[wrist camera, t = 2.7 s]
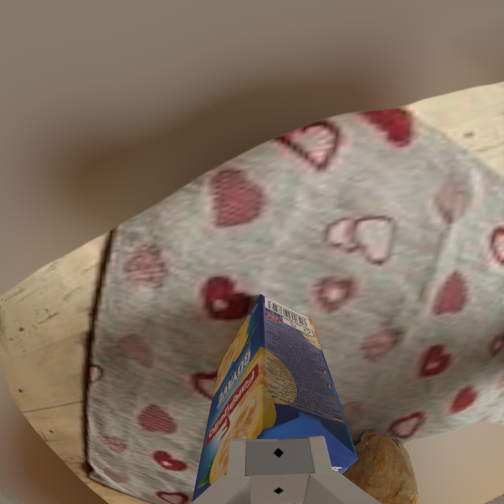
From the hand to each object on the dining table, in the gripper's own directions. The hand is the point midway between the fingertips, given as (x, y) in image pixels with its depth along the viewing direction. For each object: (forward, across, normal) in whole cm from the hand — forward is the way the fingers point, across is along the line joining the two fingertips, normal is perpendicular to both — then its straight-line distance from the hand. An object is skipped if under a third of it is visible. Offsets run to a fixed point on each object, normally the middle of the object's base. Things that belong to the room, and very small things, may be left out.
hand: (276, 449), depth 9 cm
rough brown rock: (+28, -16, +36) cm, 48 cm away
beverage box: (+28, 0, +11) cm, 30 cm away
